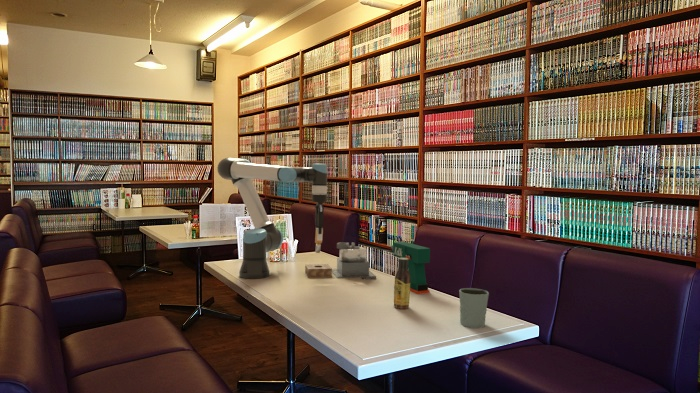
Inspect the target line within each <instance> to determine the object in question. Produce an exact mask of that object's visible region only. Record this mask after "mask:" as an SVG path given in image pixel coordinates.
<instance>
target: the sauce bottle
mask: <svg viewBox="0 0 700 393" xmlns="http://www.w3.org/2000/svg"><path fill="white" fill-rule="evenodd" d="M397 261H398V267H397V271H396V274H395V275H394V284H393V285H394V287H393V288H394V289H393V307H394V308H395V309H396V308H397V309H399V310H405V309H406V310H407V309H409V306H410V295H411V294H410V293H411V291H410V274H409V271H408V262H409V259H408V258H399V257H398V260H397Z"/></svg>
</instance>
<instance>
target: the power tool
mask: <svg viewBox="0 0 700 393" xmlns="http://www.w3.org/2000/svg"><path fill="white" fill-rule="evenodd" d="M392 243H393V244H392V245H389V247H390V248H391V250H392V256H393V257H396V258H398V259H399V258H408V259H409V262H408V272H409V274H410V292H412V293H413V294H417V295H421V294H429V293H430V289H429V284H428V283H427V278H426V277H427V276H426V269H425V264H430V263H431V248H430V247H426V246H421V245H418V244H414V243H411V242H407V241H397V242H396V241H393V242H392Z"/></svg>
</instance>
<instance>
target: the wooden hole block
mask: <svg viewBox="0 0 700 393" xmlns="http://www.w3.org/2000/svg"><path fill="white" fill-rule="evenodd" d="M304 268H305V269H304V272H305V274H306V276H307V278H321V277H322V278H326V277H327V278H330V277H332V276H333V273H332V269H333V268H332V267H331V265H329V263H321V264H319V263H317V264H316V263H315V264H313V263H312V264H310V263H309V264H305V267H304Z"/></svg>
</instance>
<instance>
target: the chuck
mask: <svg viewBox="0 0 700 393" xmlns="http://www.w3.org/2000/svg"><path fill="white" fill-rule="evenodd" d="M336 249H339V254H338V255H339V257H338V258H339V260H341V261H346V262H362V261H366V260H367V248H366V247H363V246H356V243H355V242H351V245H350V242H343V241H342V242H341V241H340V242H337V243H336Z"/></svg>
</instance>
